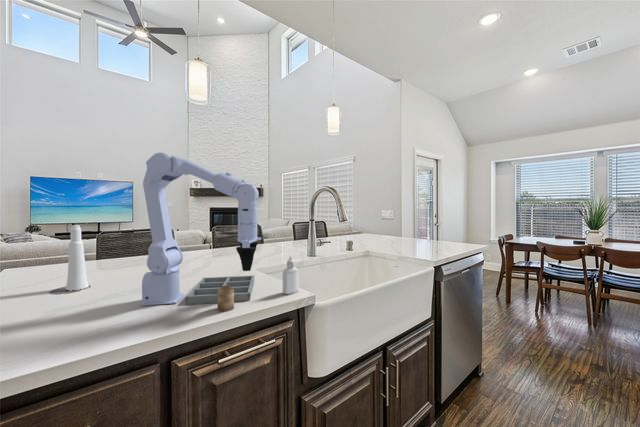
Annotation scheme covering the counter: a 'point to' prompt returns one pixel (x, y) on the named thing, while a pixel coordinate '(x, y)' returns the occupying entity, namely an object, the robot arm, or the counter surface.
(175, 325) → the counter surface
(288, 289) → the eye dropper bottle
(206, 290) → the grey compartment tray
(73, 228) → the cosmetic bottle
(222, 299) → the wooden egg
